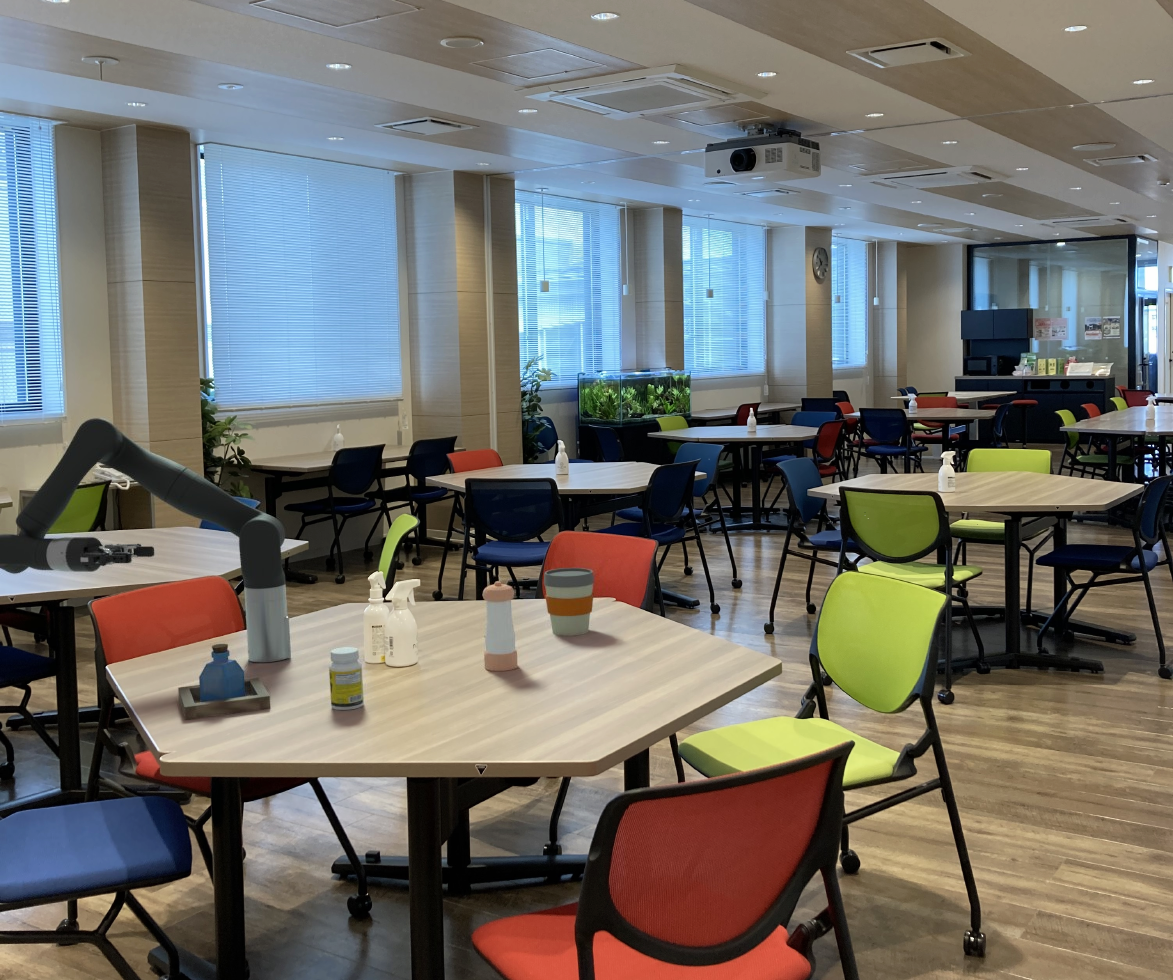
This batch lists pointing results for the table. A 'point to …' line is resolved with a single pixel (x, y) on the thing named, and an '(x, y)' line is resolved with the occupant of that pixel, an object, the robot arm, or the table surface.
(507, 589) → the pepper shaker
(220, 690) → the perfume bottle
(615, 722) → the table surface
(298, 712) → the table surface
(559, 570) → the reusable coffee cup
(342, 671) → the supplement bottle
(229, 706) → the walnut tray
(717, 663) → the table surface
